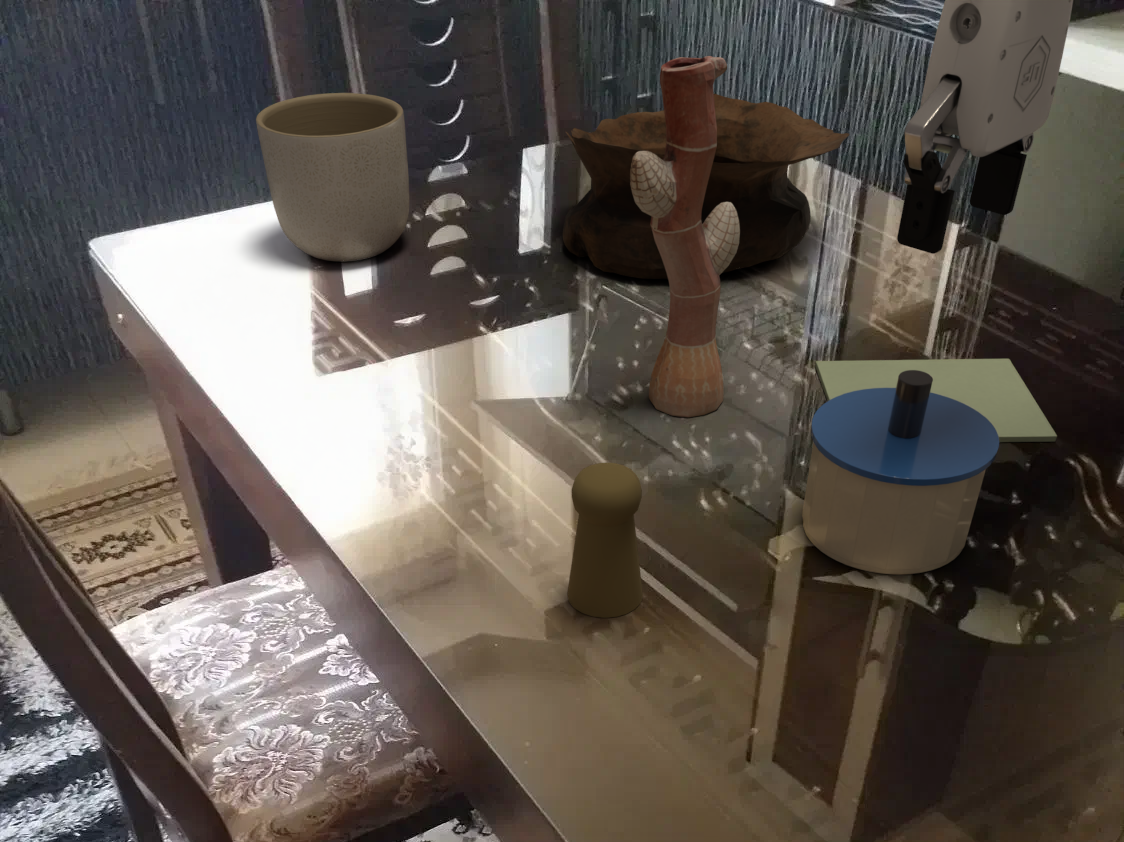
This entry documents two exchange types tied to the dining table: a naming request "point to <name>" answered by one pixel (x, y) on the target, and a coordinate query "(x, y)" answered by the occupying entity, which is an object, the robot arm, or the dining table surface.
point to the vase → (687, 237)
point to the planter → (337, 172)
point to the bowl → (736, 176)
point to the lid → (905, 434)
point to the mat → (953, 389)
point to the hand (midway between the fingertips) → (955, 228)
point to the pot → (886, 519)
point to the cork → (605, 542)
